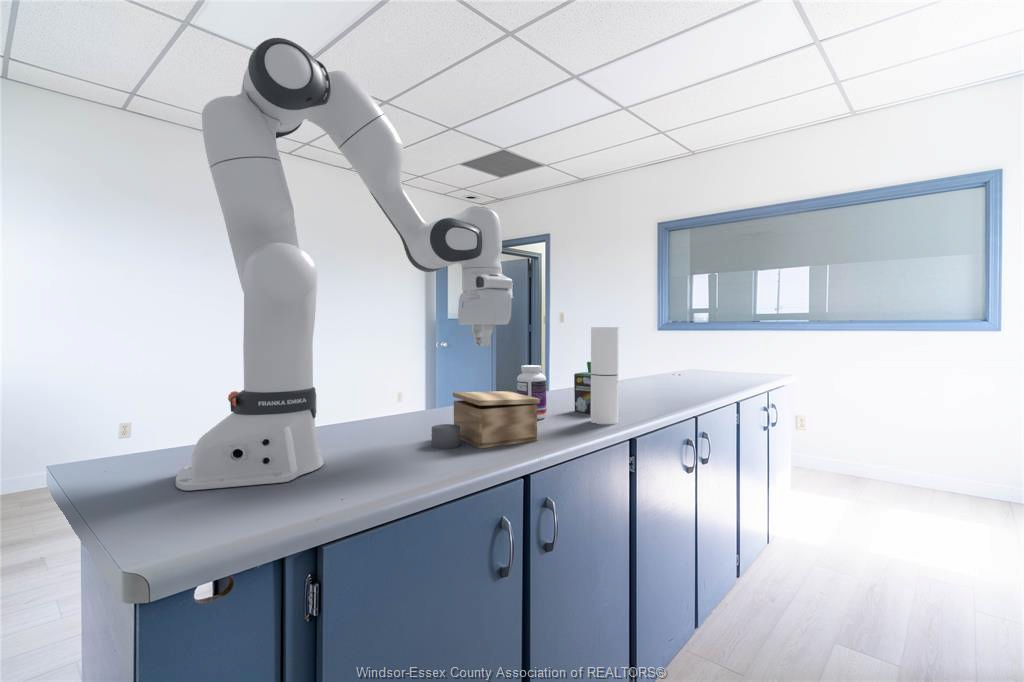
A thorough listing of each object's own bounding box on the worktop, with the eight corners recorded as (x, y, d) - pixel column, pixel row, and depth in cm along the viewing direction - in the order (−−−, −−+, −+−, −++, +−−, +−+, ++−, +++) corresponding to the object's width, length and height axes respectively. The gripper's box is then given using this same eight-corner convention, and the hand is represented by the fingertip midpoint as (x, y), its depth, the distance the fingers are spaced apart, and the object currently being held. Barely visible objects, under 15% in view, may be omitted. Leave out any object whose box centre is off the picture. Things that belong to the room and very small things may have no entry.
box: (479, 448, 102) (479, 409, 101) (453, 435, 114) (453, 400, 114) (537, 440, 108) (537, 404, 108) (507, 429, 121) (507, 396, 120)
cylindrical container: (585, 421, 130) (585, 327, 130) (601, 418, 135) (602, 327, 134) (607, 425, 125) (607, 327, 124) (623, 421, 130) (624, 327, 129)
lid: (479, 405, 101) (479, 400, 101) (452, 396, 114) (453, 392, 114) (539, 403, 108) (539, 398, 108) (508, 395, 121) (508, 391, 121)
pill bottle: (547, 415, 139) (547, 364, 139) (545, 421, 131) (545, 367, 131) (519, 414, 140) (518, 364, 140) (515, 420, 132) (515, 366, 132)
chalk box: (617, 411, 146) (617, 361, 145) (597, 415, 140) (598, 363, 139) (592, 407, 153) (592, 360, 152) (573, 411, 147) (573, 361, 146)
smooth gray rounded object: (437, 450, 100) (437, 431, 100) (427, 444, 106) (427, 425, 106) (464, 447, 103) (464, 428, 103) (453, 441, 109) (453, 423, 108)
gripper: (451, 285, 116) (451, 344, 117) (489, 278, 98) (489, 347, 99) (475, 287, 119) (475, 343, 120) (516, 279, 101) (516, 346, 102)
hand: (482, 345), depth 109 cm, fingers closed
